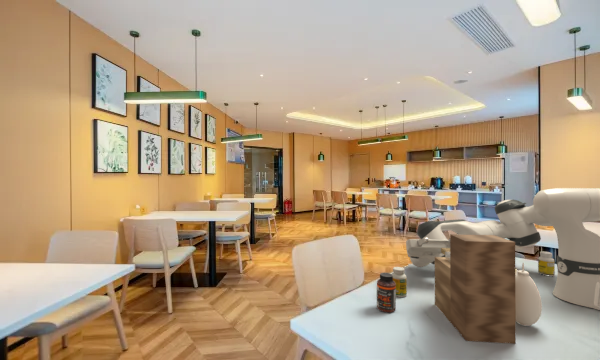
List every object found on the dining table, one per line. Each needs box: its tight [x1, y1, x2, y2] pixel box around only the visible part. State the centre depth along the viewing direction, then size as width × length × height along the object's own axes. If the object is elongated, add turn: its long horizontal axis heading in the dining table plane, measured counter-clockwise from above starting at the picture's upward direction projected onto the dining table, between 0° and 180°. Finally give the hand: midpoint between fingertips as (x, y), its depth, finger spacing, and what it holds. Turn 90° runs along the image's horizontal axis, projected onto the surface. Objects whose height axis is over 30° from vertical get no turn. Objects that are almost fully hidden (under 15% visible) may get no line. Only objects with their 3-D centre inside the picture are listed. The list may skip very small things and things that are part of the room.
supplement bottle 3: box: [537, 251, 556, 277], centre depth 120 cm, size 5×5×10 cm
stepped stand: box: [434, 233, 517, 345], centre depth 80 cm, size 12×21×26 cm, turn 174°
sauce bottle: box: [515, 262, 543, 327], centre depth 79 cm, size 8×8×18 cm
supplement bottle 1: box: [376, 272, 397, 314], centre depth 88 cm, size 6×6×11 cm
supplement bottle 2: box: [391, 266, 408, 298], centre depth 100 cm, size 5×5×10 cm
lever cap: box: [441, 248, 450, 262], centre depth 89 cm, size 7×16×2 cm, turn 174°
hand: (439, 239), depth 102 cm, fingers open, 8 cm apart
